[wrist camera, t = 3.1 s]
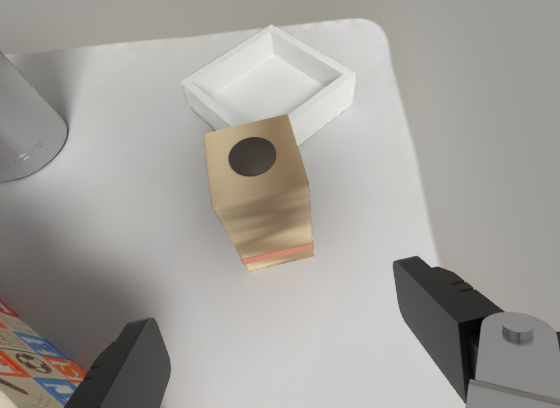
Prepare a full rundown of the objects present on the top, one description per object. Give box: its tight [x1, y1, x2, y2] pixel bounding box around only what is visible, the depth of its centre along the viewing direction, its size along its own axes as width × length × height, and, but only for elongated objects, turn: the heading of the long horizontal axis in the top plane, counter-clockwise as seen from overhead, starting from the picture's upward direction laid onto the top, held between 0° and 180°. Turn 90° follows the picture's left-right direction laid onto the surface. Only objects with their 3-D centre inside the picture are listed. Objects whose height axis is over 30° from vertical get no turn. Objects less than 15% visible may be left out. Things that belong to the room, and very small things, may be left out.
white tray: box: [180, 25, 356, 146], centre depth 32 cm, size 12×12×4 cm
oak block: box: [203, 114, 314, 271], centre depth 22 cm, size 5×5×10 cm
